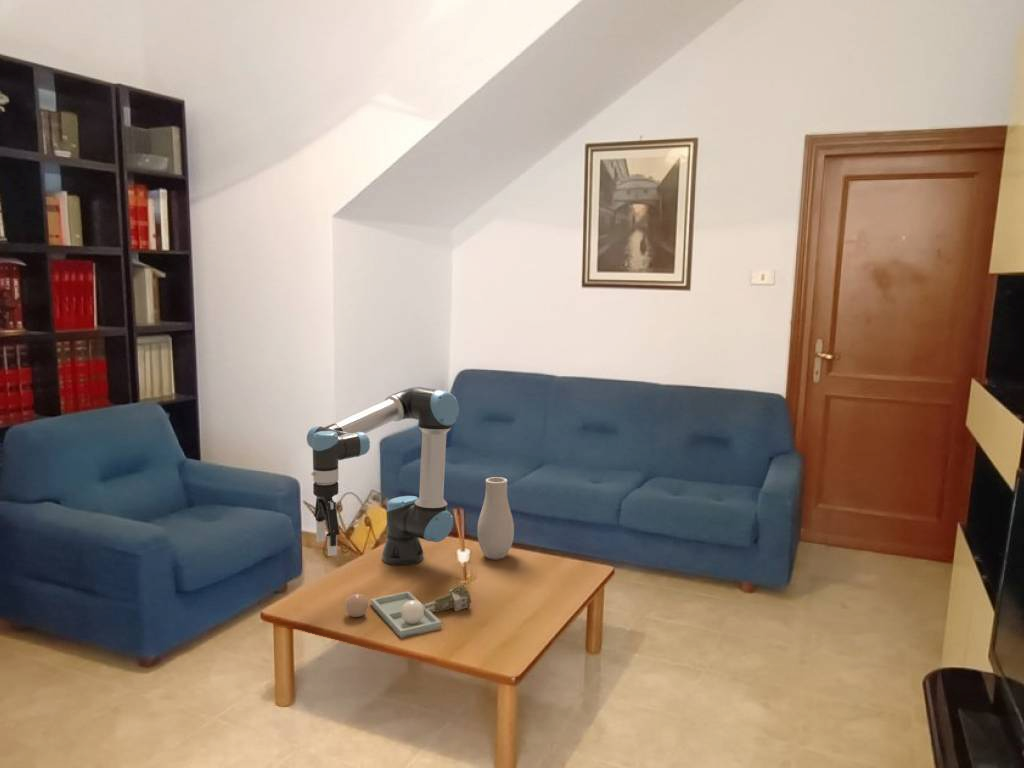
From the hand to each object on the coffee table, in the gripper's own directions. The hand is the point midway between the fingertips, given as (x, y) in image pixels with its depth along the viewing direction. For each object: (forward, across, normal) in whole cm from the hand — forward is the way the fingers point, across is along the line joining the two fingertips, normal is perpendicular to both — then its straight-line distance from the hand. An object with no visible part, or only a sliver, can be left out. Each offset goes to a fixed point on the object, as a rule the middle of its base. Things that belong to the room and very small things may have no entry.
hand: (326, 548), depth 240 cm
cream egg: (+20, +21, +20) cm, 36 cm away
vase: (+20, -17, +68) cm, 73 cm away
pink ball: (+20, +8, +7) cm, 23 cm away
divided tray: (+20, +15, +20) cm, 32 cm away
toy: (+20, +17, +34) cm, 43 cm away
